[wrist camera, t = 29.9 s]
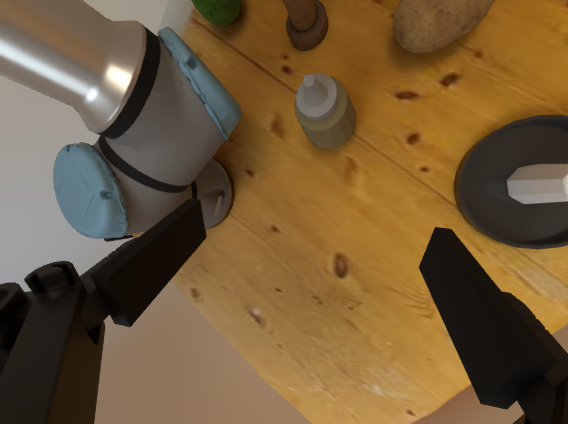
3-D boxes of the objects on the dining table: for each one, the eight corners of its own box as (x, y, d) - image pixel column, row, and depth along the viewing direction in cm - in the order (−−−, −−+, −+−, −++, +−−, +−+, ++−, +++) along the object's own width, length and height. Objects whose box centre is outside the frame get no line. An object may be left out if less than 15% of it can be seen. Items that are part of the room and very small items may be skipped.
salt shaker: (566, 189, 30) (673, 189, 20) (520, 212, 32) (596, 222, 22) (539, 155, 31) (629, 137, 20) (495, 179, 32) (558, 173, 22)
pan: (514, 269, 33) (524, 274, 31) (427, 181, 36) (430, 180, 34) (655, 187, 28) (676, 187, 26) (541, 91, 30) (553, 85, 29)
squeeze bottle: (335, 92, 39) (313, 16, 22) (367, 127, 38) (371, 75, 21) (299, 128, 41) (254, 85, 24) (329, 162, 40) (304, 141, 23)
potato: (513, 1, 31) (562, -61, 23) (416, 84, 35) (431, 55, 27) (460, -46, 32) (491, -119, 24) (374, 40, 36) (377, 0, 29)
